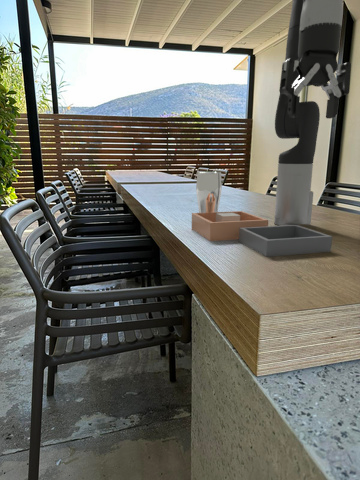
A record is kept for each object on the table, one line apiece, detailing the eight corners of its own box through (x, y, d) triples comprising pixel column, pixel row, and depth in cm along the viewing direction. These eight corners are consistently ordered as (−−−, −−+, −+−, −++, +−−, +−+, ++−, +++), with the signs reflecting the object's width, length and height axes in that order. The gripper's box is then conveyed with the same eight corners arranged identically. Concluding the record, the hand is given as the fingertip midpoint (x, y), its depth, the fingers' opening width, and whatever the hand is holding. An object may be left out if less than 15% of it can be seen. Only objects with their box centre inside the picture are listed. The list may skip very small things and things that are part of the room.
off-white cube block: (232, 230, 84) (232, 212, 83) (239, 234, 80) (240, 215, 79) (215, 231, 83) (215, 213, 82) (221, 235, 79) (222, 216, 78)
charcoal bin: (294, 241, 77) (296, 224, 76) (330, 256, 65) (332, 236, 64) (238, 245, 73) (239, 227, 72) (265, 261, 62) (267, 240, 61)
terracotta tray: (241, 229, 90) (241, 211, 89) (266, 241, 77) (268, 220, 76) (191, 232, 87) (191, 213, 86) (209, 245, 74) (210, 222, 72)
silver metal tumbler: (219, 228, 91) (220, 172, 87) (194, 227, 92) (194, 172, 89) (221, 224, 98) (222, 171, 94) (197, 223, 99) (198, 171, 95)
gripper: (338, 38, 69) (330, 120, 73) (276, 32, 66) (271, 118, 70) (366, 24, 62) (355, 116, 66) (298, 16, 59) (291, 114, 63)
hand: (312, 117), depth 68 cm, fingers open, 8 cm apart
